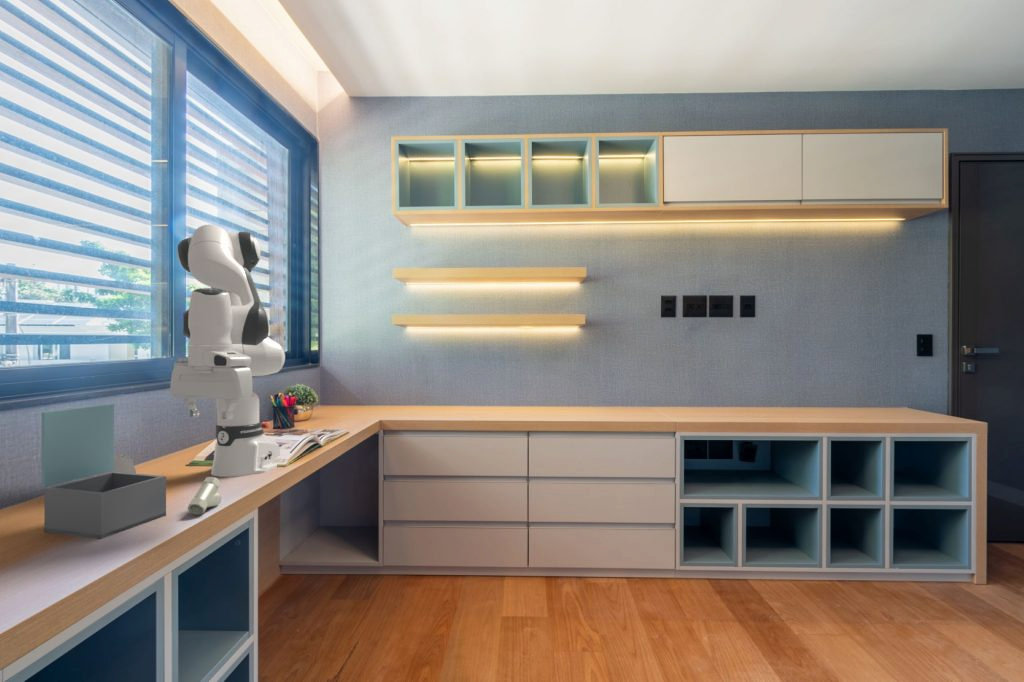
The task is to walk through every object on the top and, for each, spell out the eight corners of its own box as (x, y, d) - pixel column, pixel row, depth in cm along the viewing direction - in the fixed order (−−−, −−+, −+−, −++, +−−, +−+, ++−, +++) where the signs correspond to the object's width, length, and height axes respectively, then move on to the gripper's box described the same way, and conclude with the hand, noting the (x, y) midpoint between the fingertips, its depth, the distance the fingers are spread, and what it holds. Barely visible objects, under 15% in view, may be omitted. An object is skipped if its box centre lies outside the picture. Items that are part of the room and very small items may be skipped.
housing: (113, 511, 118) (113, 471, 118) (166, 517, 114) (166, 476, 114) (44, 533, 105) (44, 488, 105) (100, 540, 101) (100, 494, 101)
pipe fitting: (210, 497, 123) (202, 476, 120) (227, 497, 123) (219, 476, 120) (193, 525, 116) (184, 504, 113) (211, 524, 117) (202, 503, 113)
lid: (113, 470, 118) (111, 469, 118) (113, 404, 118) (111, 404, 118) (44, 486, 105) (41, 486, 105) (44, 412, 105) (41, 412, 105)
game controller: (140, 489, 136) (140, 450, 136) (129, 494, 132) (129, 454, 131) (83, 489, 135) (83, 451, 135) (69, 494, 131) (69, 455, 131)
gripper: (162, 358, 119) (162, 418, 119) (236, 359, 114) (236, 422, 114) (186, 357, 126) (186, 414, 126) (257, 358, 120) (257, 417, 120)
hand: (210, 418), depth 120 cm, fingers open, 8 cm apart
